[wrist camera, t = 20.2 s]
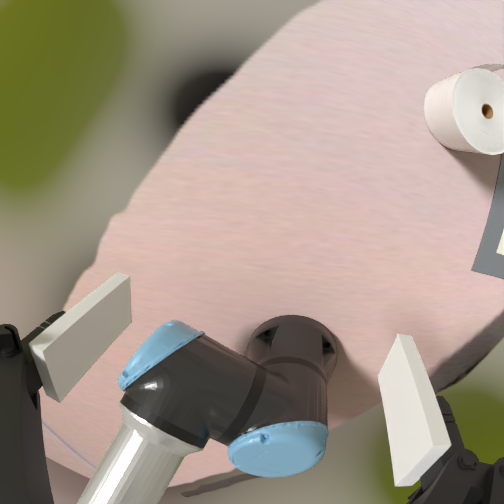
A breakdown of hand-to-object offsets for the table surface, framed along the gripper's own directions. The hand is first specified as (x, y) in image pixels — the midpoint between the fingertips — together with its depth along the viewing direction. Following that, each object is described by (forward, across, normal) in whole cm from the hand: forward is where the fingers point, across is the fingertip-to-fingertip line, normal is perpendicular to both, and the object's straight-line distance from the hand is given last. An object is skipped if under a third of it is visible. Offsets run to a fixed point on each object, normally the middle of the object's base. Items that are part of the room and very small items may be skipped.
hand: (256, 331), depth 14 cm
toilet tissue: (+32, -21, -19) cm, 43 cm away
